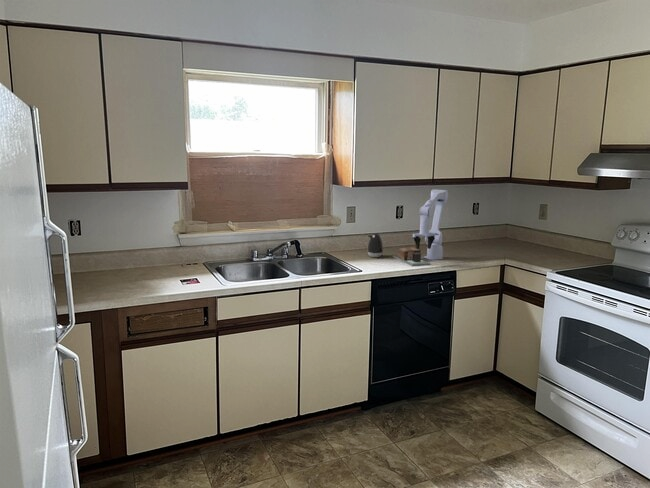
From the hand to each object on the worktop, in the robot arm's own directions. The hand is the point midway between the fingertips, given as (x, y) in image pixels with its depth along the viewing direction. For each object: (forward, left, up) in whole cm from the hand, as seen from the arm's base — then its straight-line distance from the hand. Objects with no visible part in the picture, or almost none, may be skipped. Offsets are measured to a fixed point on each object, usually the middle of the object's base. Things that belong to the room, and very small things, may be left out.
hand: (423, 248), depth 298 cm
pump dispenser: (+20, -26, -10) cm, 34 cm away
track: (+3, -9, -10) cm, 14 cm away
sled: (+3, -8, -8) cm, 12 cm away
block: (+3, -12, -7) cm, 14 cm away
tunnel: (+3, -12, -10) cm, 16 cm away
